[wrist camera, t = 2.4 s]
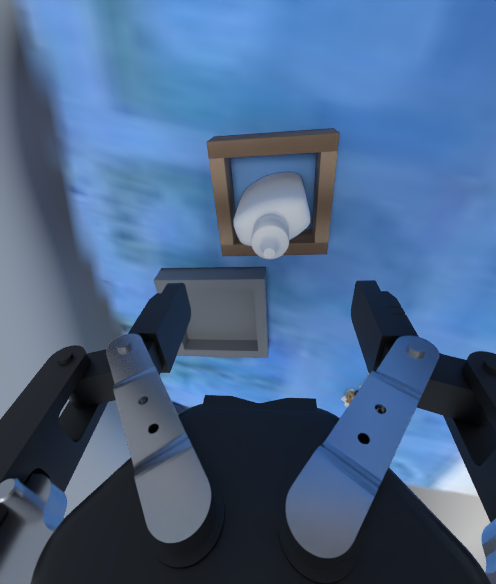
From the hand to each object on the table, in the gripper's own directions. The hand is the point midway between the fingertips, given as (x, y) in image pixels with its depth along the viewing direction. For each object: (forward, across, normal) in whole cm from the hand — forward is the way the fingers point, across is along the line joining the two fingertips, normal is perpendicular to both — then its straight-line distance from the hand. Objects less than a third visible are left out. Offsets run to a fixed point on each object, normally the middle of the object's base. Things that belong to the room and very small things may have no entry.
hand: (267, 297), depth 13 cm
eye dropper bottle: (+16, 0, 0) cm, 16 cm away
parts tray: (+16, +7, +14) cm, 22 cm away
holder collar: (+16, 0, 0) cm, 16 cm away
